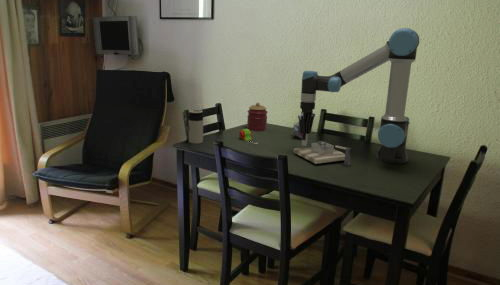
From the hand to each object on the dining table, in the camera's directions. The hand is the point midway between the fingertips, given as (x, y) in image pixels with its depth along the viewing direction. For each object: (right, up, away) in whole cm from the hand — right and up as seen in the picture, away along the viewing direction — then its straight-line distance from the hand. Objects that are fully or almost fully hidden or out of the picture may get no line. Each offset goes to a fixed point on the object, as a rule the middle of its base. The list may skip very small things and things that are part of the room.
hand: (304, 145), depth 208 cm
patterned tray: (+6, -5, -7) cm, 10 cm away
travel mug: (-59, +1, +12) cm, 61 cm away
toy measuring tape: (-30, +2, +19) cm, 36 cm away
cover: (+8, -3, -9) cm, 12 cm away
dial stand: (+16, -9, -16) cm, 24 cm away
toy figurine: (+1, +4, +31) cm, 31 cm away
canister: (-24, +10, +49) cm, 56 cm away
